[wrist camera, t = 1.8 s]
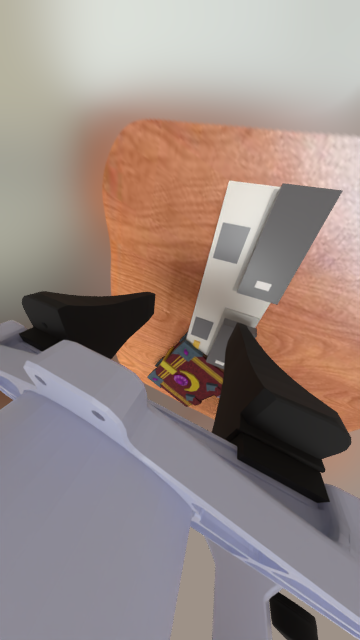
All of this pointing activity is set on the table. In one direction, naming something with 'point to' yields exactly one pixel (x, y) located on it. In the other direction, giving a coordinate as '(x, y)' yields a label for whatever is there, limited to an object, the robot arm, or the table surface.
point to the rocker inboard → (223, 343)
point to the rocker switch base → (231, 264)
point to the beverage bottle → (292, 619)
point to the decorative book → (187, 374)
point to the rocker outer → (285, 239)
